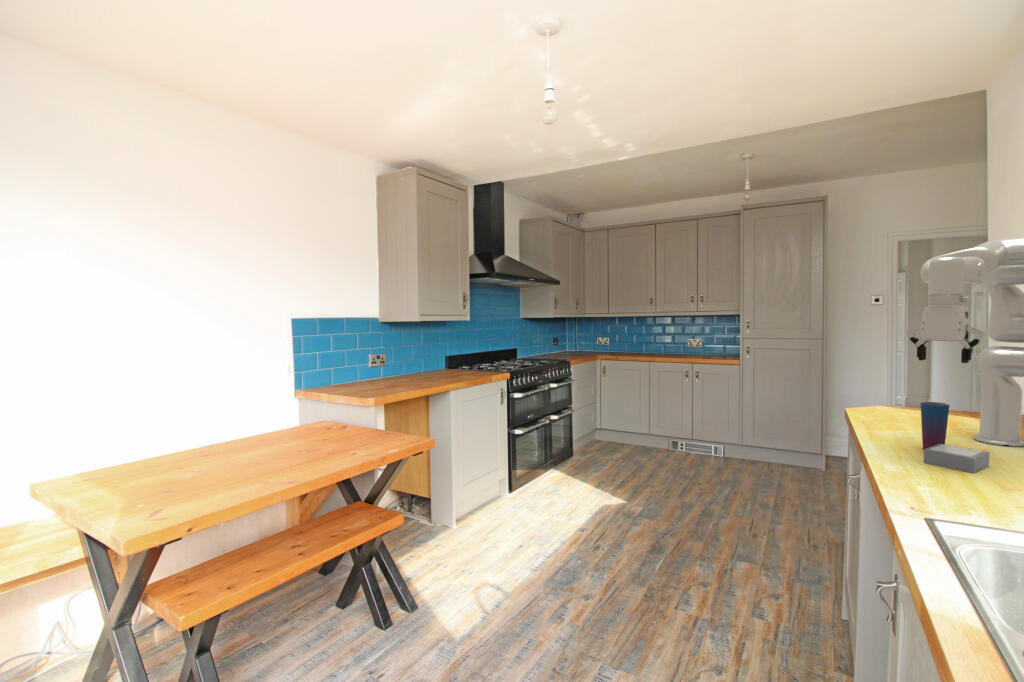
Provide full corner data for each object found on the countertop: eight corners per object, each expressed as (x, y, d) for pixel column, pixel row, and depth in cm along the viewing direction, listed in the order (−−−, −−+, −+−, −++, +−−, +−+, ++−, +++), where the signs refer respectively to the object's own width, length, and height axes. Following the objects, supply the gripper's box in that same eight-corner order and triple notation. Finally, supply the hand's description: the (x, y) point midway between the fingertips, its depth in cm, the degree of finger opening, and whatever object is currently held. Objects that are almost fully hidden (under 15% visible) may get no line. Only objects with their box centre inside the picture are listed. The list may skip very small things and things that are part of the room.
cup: (953, 454, 149) (955, 405, 148) (927, 453, 150) (929, 405, 149) (938, 448, 155) (940, 401, 154) (914, 447, 157) (915, 401, 156)
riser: (939, 456, 147) (940, 443, 147) (988, 466, 137) (989, 451, 137) (923, 462, 141) (923, 448, 141) (973, 473, 132) (974, 458, 132)
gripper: (991, 300, 133) (988, 363, 134) (913, 302, 148) (912, 358, 149) (980, 300, 129) (978, 364, 130) (902, 302, 144) (900, 359, 145)
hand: (942, 361), depth 139 cm, fingers open, 9 cm apart
